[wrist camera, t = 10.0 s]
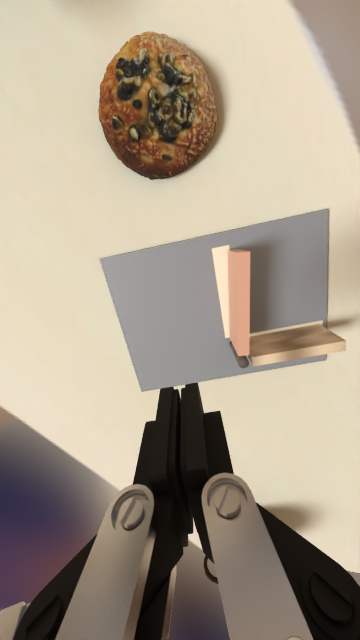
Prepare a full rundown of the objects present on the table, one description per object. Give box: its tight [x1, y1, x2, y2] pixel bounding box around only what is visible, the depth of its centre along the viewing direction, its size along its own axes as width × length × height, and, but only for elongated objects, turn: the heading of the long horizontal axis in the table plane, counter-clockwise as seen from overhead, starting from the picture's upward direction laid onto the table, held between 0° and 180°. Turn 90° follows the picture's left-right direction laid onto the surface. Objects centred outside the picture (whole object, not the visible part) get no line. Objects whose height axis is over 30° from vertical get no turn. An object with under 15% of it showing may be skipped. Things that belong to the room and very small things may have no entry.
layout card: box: [100, 209, 328, 392], centre depth 29 cm, size 26×19×1 cm
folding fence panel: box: [228, 249, 250, 356], centre depth 25 cm, size 11×1×5 cm, turn 5°
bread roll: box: [99, 32, 218, 180], centre depth 21 cm, size 11×11×5 cm
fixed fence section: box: [229, 324, 346, 368], centre depth 27 cm, size 12×1×5 cm, turn 102°
